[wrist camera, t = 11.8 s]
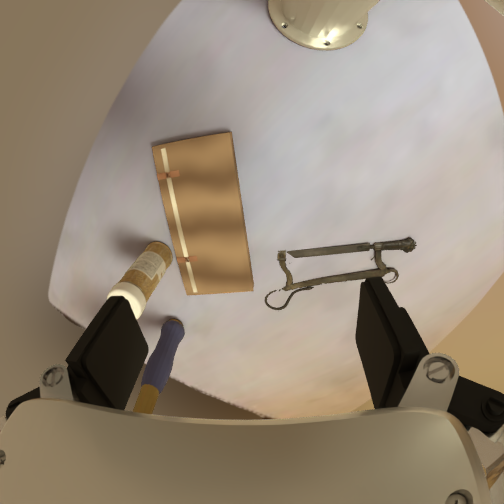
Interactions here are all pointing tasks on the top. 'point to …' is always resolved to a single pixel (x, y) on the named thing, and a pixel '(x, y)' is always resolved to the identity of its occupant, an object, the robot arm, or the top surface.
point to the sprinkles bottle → (143, 276)
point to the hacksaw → (394, 245)
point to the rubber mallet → (159, 366)
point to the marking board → (205, 213)
